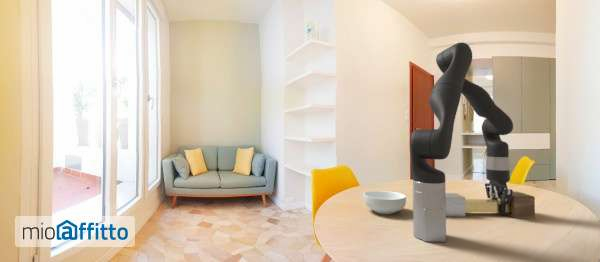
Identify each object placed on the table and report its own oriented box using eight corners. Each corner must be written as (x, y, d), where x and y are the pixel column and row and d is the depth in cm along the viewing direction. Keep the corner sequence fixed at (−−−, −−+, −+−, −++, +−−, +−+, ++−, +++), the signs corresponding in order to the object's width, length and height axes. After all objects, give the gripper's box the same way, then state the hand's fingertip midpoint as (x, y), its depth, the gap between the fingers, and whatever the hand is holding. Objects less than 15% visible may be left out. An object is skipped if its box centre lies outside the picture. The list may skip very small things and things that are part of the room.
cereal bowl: (413, 217, 105) (412, 199, 106) (368, 218, 106) (368, 199, 106) (398, 206, 122) (397, 189, 122) (360, 206, 123) (359, 190, 123)
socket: (534, 218, 103) (534, 196, 103) (514, 218, 104) (514, 196, 104) (518, 211, 112) (517, 191, 112) (499, 211, 113) (499, 191, 113)
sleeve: (465, 216, 106) (465, 197, 106) (424, 215, 107) (424, 197, 107) (456, 211, 113) (456, 193, 113) (418, 210, 114) (418, 193, 114)
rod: (521, 212, 106) (521, 202, 106) (455, 212, 108) (455, 201, 108) (513, 209, 110) (513, 199, 110) (450, 209, 112) (450, 198, 112)
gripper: (520, 170, 101) (521, 218, 101) (496, 166, 115) (497, 207, 115) (498, 170, 102) (499, 217, 102) (477, 166, 116) (478, 207, 116)
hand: (498, 212), depth 108 cm, fingers closed on rod, 4 cm apart
